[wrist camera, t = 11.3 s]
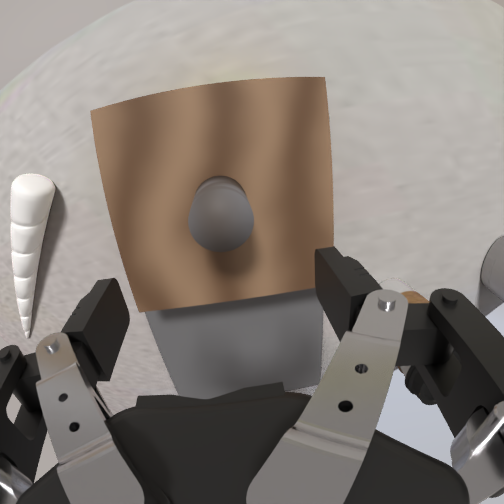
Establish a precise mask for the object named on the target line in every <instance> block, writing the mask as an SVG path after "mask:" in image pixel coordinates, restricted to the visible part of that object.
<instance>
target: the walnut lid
mask: <svg viewBox="0 0 504 504" xmlns="http://www.w3.org/2000/svg"><path fill="white" fill-rule="evenodd" d="M90 112H91V119H92V127H93V134H94V140H95V146H96V152H97V158H98V163H99V168H100V174H101V178H102V183H103V188H104V193H105V197H106V201H107V206H108V210H109V214H110V218H111V222H112V226H113V230H114V233H115V237H116V241H117V244H118V248H119V251H120V255H121V258H122V262H123V265H124V268H125V271H126V275H127V278H128V281H129V284H130V287H131V290H132V293H133V296H134V299H135V302H136V305H137V308H138V310H139V312H147V311H156V310H165V309H173V308H181V307H189V306H197V305H205V304H212V303H220V302H227V301H234V300H241V299H248V298H255V297H261V296H268V295H274V294H280V293H286V292H292V291H298V290H304V289H310V288H315V260H314V254H315V250H316V249H320V248H326V247H333V244H334V225H333V179H332V157H331V140H330V126H329V113H328V102H327V92H326V82H325V77H286V78H265V79H251V80H240V81H231V82H222V83H214V84H207V85H200V86H194V87H188V88H182V89H176V90H171V91H166V92H161V93H156V94H152V95H147V96H143V97H139V98H135V99H131V100H127V101H123V102H119V103H116V104H112V105H108V106H105V107H102V108H98V109H95V110H92V111H90Z"/></svg>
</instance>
